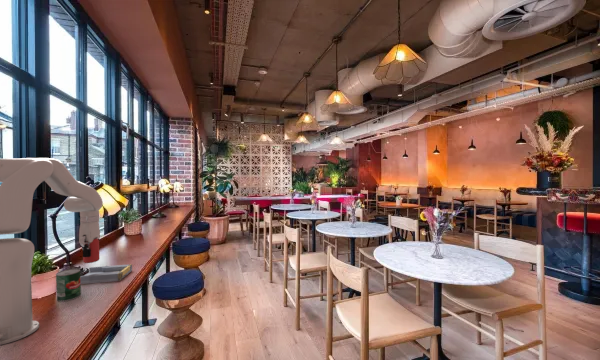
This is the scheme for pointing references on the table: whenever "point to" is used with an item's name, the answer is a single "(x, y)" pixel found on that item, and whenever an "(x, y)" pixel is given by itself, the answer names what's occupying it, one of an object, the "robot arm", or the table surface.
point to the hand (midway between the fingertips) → (91, 254)
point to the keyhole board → (106, 274)
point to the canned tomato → (68, 284)
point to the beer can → (93, 252)
